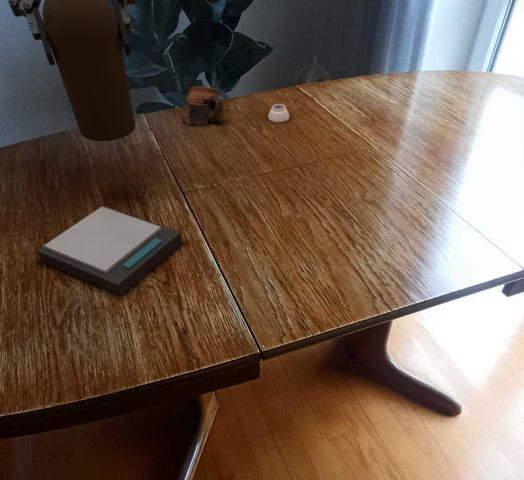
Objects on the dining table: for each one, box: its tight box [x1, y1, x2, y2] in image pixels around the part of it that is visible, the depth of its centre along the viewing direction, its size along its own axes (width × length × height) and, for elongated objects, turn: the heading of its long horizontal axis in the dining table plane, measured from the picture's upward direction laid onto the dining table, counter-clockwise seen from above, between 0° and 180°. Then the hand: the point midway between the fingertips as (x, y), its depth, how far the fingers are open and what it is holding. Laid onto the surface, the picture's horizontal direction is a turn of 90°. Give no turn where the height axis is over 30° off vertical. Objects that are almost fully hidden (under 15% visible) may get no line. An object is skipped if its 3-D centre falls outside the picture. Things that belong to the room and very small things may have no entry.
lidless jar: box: [267, 103, 290, 123], centre depth 109 cm, size 5×3×5 cm
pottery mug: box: [183, 85, 224, 127], centre depth 109 cm, size 12×10×8 cm
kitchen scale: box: [36, 205, 184, 297], centre depth 75 cm, size 17×15×3 cm
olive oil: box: [41, 0, 137, 142], centre depth 70 cm, size 11×11×25 cm
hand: (89, 54), depth 69 cm, fingers closed on olive oil, 11 cm apart
